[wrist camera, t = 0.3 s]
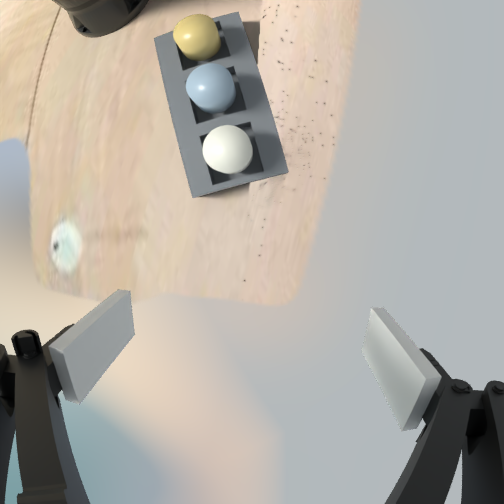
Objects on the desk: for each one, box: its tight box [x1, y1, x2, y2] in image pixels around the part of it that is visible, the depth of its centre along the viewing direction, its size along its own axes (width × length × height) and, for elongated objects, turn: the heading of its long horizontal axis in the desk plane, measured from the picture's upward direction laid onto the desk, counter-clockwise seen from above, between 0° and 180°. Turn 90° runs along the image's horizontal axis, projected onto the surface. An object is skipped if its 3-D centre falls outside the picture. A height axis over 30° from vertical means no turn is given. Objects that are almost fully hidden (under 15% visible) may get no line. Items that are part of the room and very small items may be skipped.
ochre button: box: [173, 14, 221, 61], centre depth 29 cm, size 5×5×4 cm
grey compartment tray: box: [154, 12, 289, 198], centre depth 34 cm, size 24×12×3 cm, turn 15°
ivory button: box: [203, 125, 253, 174], centre depth 32 cm, size 5×5×4 cm
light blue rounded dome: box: [186, 63, 236, 114], centre depth 30 cm, size 5×5×4 cm
